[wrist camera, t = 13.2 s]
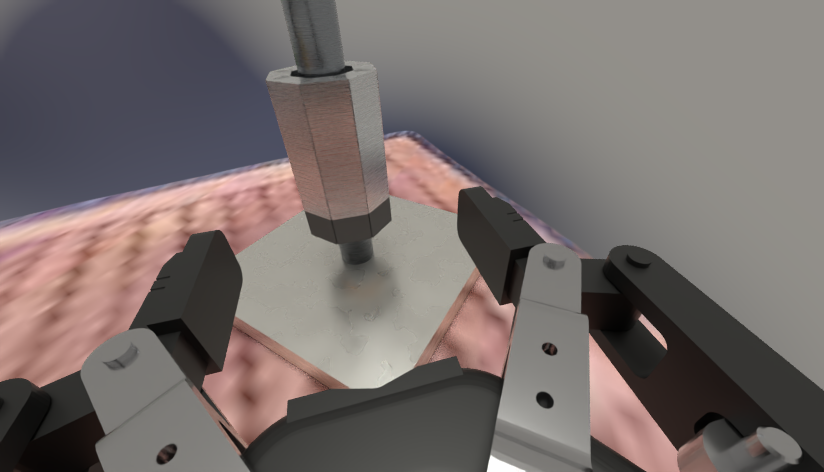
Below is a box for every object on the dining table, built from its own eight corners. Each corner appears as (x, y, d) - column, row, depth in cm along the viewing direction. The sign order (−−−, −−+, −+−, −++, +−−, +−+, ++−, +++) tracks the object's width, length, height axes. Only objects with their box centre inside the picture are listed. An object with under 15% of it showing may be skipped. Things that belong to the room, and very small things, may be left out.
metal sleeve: (286, 204, 22) (244, 78, 17) (341, 170, 26) (320, 59, 21) (352, 227, 19) (324, 87, 15) (402, 186, 23) (394, 64, 18)
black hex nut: (294, 228, 23) (286, 204, 22) (346, 192, 27) (341, 170, 26) (357, 252, 21) (352, 227, 19) (403, 209, 25) (402, 186, 23)
